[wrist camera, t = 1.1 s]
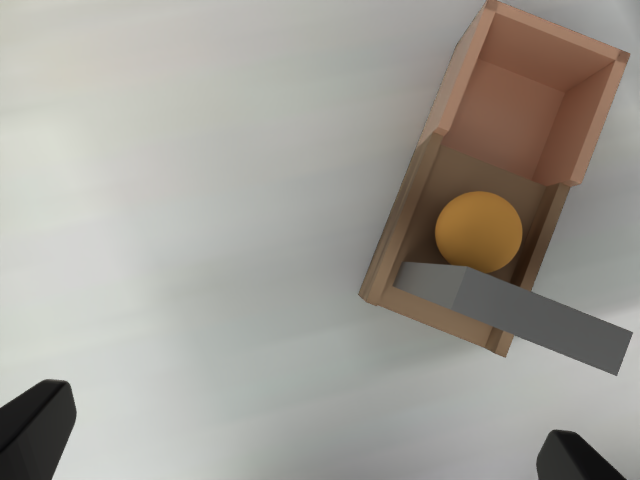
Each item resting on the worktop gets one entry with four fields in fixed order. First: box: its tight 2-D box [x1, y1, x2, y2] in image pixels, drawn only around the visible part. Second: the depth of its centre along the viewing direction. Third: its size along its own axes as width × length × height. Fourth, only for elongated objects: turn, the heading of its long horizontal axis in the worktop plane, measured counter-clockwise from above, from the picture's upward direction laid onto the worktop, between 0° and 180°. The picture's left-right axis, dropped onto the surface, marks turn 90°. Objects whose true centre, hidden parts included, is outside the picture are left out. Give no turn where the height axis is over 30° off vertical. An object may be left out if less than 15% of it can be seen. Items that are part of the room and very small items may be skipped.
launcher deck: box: [358, 132, 570, 358], centre depth 22 cm, size 8×6×4 cm
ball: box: [435, 191, 522, 273], centre depth 20 cm, size 4×4×4 cm
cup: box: [415, 0, 630, 187], centre depth 22 cm, size 6×6×4 cm
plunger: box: [393, 262, 633, 376], centre depth 16 cm, size 1×5×9 cm, turn 69°
